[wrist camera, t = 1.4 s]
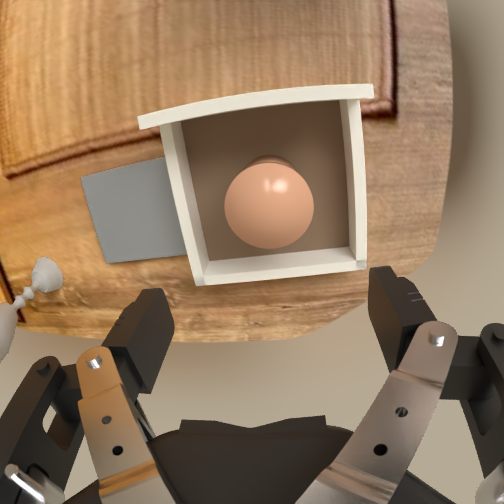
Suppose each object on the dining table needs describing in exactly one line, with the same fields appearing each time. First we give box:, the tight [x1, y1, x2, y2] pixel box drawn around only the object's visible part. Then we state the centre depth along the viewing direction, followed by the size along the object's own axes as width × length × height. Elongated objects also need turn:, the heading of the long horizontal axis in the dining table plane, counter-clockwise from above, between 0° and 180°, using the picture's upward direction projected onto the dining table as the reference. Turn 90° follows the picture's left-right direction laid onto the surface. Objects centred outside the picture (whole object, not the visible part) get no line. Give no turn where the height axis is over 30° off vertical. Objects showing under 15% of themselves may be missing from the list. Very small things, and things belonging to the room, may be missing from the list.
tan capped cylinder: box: [224, 155, 314, 249], centre depth 25 cm, size 6×6×7 cm
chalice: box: [0, 257, 63, 362], centre depth 27 cm, size 7×7×18 cm
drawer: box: [137, 84, 374, 286], centre depth 25 cm, size 16×16×8 cm
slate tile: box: [81, 156, 187, 263], centre depth 31 cm, size 10×10×1 cm
